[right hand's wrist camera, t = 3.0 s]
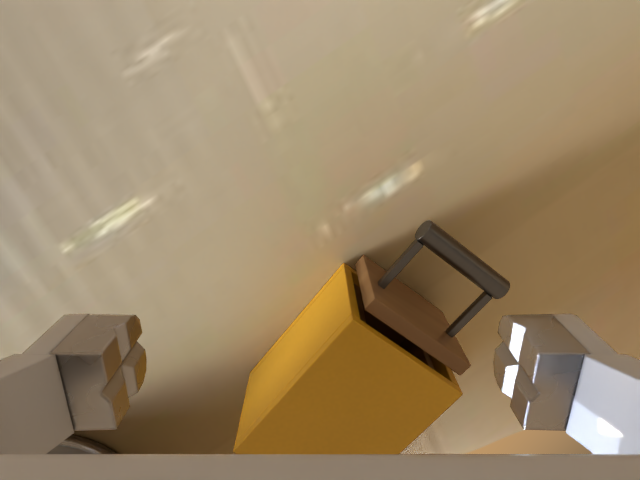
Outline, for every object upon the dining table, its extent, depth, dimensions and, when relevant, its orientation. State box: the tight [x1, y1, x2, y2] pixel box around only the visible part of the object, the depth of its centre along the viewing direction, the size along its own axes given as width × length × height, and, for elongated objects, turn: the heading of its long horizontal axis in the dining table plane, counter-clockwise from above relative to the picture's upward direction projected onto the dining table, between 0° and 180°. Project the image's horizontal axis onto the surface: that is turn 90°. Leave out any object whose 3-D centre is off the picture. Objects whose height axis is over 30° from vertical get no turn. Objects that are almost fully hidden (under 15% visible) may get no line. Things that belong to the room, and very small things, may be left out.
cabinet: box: [233, 263, 463, 454], centre depth 38 cm, size 15×11×10 cm
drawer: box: [354, 220, 510, 375], centre depth 37 cm, size 20×9×8 cm, turn 143°
